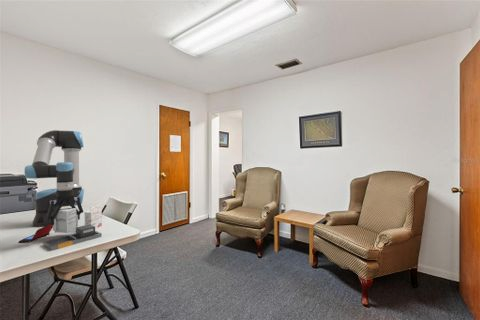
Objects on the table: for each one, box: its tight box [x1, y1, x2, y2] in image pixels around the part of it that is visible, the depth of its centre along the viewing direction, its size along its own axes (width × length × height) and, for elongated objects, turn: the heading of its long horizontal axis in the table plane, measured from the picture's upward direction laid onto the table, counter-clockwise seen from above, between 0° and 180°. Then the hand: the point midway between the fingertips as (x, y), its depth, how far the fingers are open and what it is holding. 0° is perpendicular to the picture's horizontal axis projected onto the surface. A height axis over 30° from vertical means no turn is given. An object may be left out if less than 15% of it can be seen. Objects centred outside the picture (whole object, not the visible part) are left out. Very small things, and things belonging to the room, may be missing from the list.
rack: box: [42, 230, 102, 251], centre depth 122 cm, size 12×23×3 cm, turn 146°
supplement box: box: [54, 207, 77, 234], centre depth 129 cm, size 7×7×13 cm
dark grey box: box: [75, 224, 96, 239], centre depth 127 cm, size 7×7×6 cm
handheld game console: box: [18, 224, 53, 244], centre depth 127 cm, size 12×11×7 cm
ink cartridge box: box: [84, 204, 103, 230], centre depth 144 cm, size 9×5×15 cm, turn 168°
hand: (65, 227), depth 129 cm, fingers closed on supplement box, 10 cm apart
